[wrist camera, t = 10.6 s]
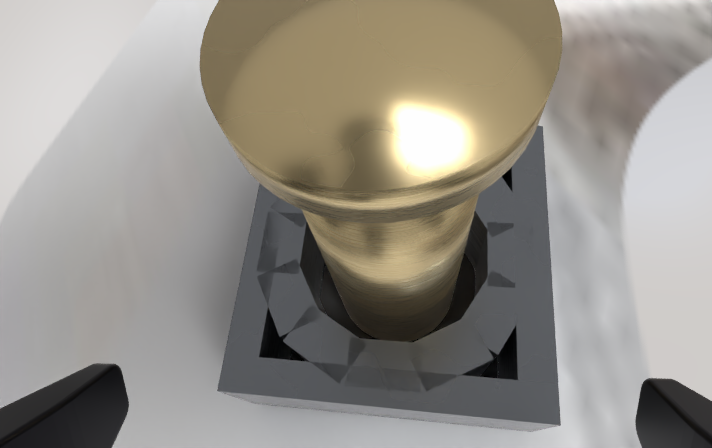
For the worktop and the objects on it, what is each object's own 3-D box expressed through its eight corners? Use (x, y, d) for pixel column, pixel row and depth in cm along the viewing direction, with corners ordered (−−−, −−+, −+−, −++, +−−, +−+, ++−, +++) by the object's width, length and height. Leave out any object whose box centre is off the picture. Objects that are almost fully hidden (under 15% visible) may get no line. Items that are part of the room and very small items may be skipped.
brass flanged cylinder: (469, 366, 17) (576, 198, 6) (316, 353, 17) (160, 181, 7) (470, 224, 19) (551, -91, 8) (334, 218, 20) (238, -81, 9)
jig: (531, 431, 16) (560, 425, 13) (254, 403, 17) (217, 391, 14) (521, 180, 19) (542, 126, 16) (294, 172, 21) (272, 120, 17)
